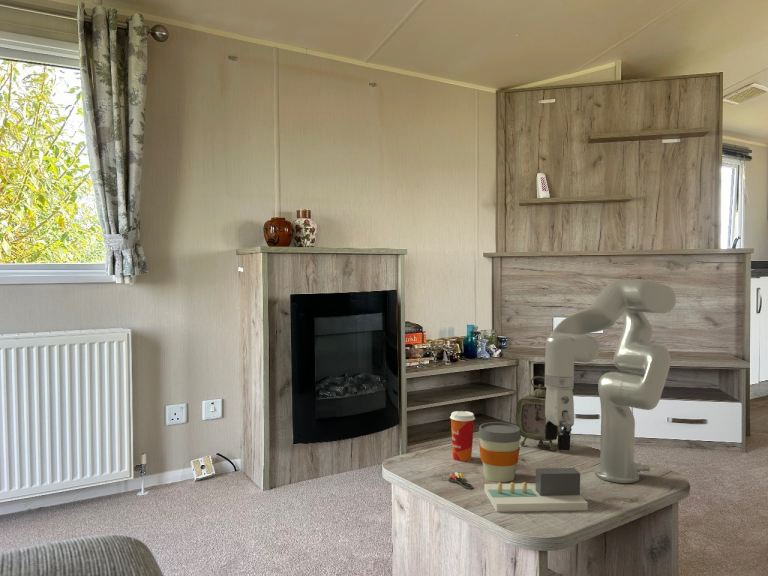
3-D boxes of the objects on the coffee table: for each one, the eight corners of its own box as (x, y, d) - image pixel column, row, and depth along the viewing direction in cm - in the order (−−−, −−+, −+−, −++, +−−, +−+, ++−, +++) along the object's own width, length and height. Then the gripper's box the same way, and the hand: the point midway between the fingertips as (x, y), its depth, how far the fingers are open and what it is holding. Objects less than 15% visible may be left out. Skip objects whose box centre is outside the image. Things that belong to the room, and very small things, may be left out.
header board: (567, 489, 166) (567, 472, 166) (587, 510, 152) (587, 491, 152) (484, 490, 165) (484, 473, 165) (496, 511, 151) (496, 492, 151)
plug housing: (573, 489, 161) (574, 467, 161) (579, 495, 157) (580, 473, 157) (535, 489, 160) (535, 468, 160) (540, 495, 156) (540, 473, 156)
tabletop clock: (515, 446, 206) (516, 376, 205) (523, 440, 214) (524, 372, 213) (556, 453, 199) (558, 380, 198) (563, 446, 206) (564, 376, 206)
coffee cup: (448, 454, 197) (449, 410, 196) (473, 454, 197) (473, 410, 196) (450, 462, 189) (451, 416, 188) (476, 463, 188) (476, 417, 188)
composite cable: (474, 490, 166) (474, 481, 166) (459, 492, 165) (459, 483, 165) (460, 478, 176) (460, 470, 176) (445, 479, 174) (445, 471, 174)
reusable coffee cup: (506, 467, 184) (507, 420, 183) (528, 481, 172) (529, 431, 172) (470, 471, 180) (471, 423, 179) (490, 486, 168) (491, 435, 168)
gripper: (585, 388, 149) (583, 454, 149) (561, 376, 166) (559, 435, 167) (556, 387, 149) (554, 454, 149) (535, 375, 166) (533, 435, 166)
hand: (557, 444), depth 158 cm, fingers open, 9 cm apart
